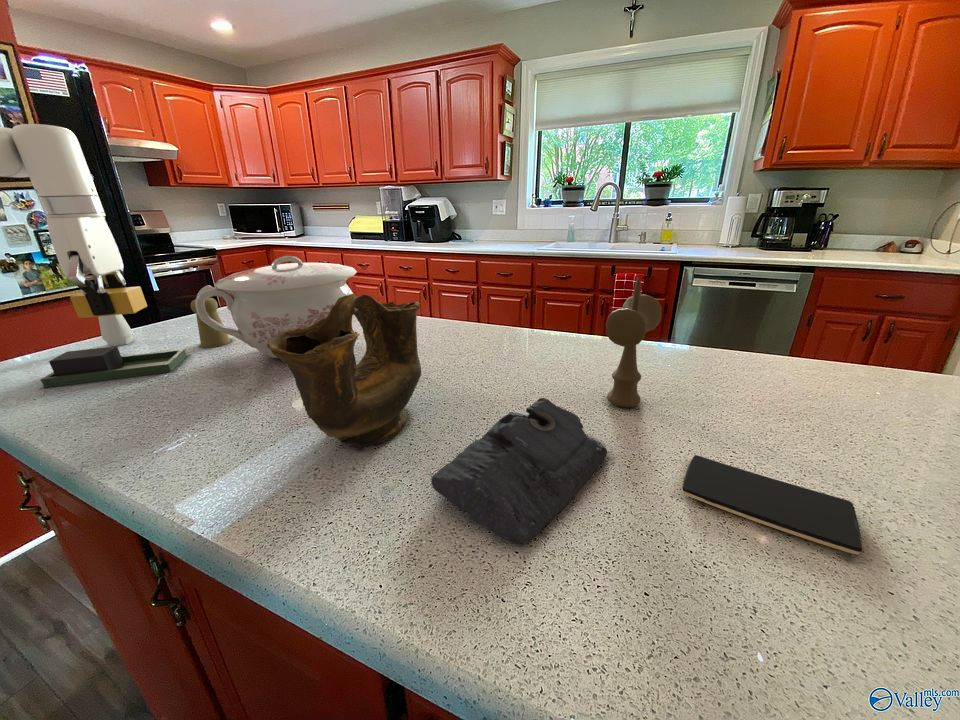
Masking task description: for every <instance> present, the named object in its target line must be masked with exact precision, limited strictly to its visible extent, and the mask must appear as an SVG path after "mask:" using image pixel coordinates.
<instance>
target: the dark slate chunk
mask: <svg viewBox="0 0 960 720" xmlns="http://www.w3.org/2000/svg"><path fill="white" fill-rule="evenodd" d="M525 412H526V413H527V414H528V415H527V414H523V413H519V412H514V411H510V412H509V413H507V414H505V415H504V416H502V417H501V418H500V419H499V420H497V422H495V423H494V424H493V425H492V427H490V428H489V430H488V431H487V432H486V433H485V434H484V435H483V436H482V437H481V438H479V439H475V440H474V441H473V442H471V443H470V444H469V445H468V446H466V447H465V448H464V450H463V451H461V452H460V453H458V454H457V455H456V457H454V459H453V460H451V461H450V462H449V463H446V464H445V465H444V466H443V467H441V468H440V469H438V471H437V472H436V473H435V474H433V475H432V477H431V485H432V488H433V490H434V491H435V492H437V493H438V494H439V495H441V496H443V498H445V499H446V500H448V501H449V502H450V503H451V504H452V506H453V507H457V508H458V509H459V510H461V511H463V512H464V513H467V514H468V515H469V516H470V517H471V518H472V519H473V520H474V521H475V522H476V523H477V524H478V525H480V526H482V527H485V528H486V529H487V530H489V531H491V532H493V533H495V535H497V536H498V537H500V538H502V539H507V540H508V541H511V542H512V541H514V542H520V543H521V544H522V545H526V544H527V543H529V542H530V541H531V539H532V538H534V537H536V536H537V535H538V534H539V533H540V532H541V531H542V530H544V528H545V526H546V525H549V524H550V523H551V521H552V520H553V519H554V518H555V517H556V516H557V515H558V513H560V512H561V511H563V510H564V509H565V508H566V506H567V504H569V502H571V500H572V499H574V498H575V497H576V496H575V495H576V494H577V493H578V491H580V490H581V488H582V487H583V486H584V485H585V484H586V482H587V481H589V480H590V478H591V476H592V475H593V474H594V472H595V471H597V470H598V469H599V467H600V466H601V465H602V462H603V461H604V460H605V458H606V457H607V454H608V450H607V448H606V447H605V446H603V445H601V441H598V440H596V439H594V438H590V437H589V436H587V434H586V432H585V431H584V430H583V428H584V425H583V424H582V422H581V418H580V417H579V416H578V415H577V414H575V413H574V412H572V411H570V410H568V409H566V408H563V407H561V406H558V405H556V404H555V403H553V402H552V401H551V400H550V399H548V398H546V397H539V398H538V399H537V400H536V401H535V402H534V403H532V404H530V405H529V407H527V408H526V409H525Z"/></svg>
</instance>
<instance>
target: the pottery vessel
mask: <svg viewBox="0 0 960 720" xmlns="http://www.w3.org/2000/svg"><path fill="white" fill-rule="evenodd" d="M420 305H421V303H420V302H418V301H414V302H403V303H400V304H396V303H395V302H394V301H390V302H387V303H386V302H379V301H378V300H376V299H375V298H374V297H372V296H371V295H369V294H367V293H362V294H361V295H358V296H356V295H355V293H353V294H350V295H347V296H343V297H340V298H339V299H338V300H337V301H336V303H335V305H334V306H333V307H332V308H331V310H330V313H329V315H328V316H327V317H326V318H323V319H321V320H320V321H318V322H317V323H315V324H313V325H311V326H309V327H307V328H298V329H295V330H289V331H285V332H282V333H280V334H278V336H276V337H277V338H275V337H273V338H269V339H268V340H267V341H268V343H267V347H268V348H270V350H271V352H272V353H273V354H274V355H275V356H276V357H278V358H277V359H279V360H281V362H283V364H284V365H286V366H287V368H288V369H289V370H290V372H291V374H292V375H293V378H294V381H295V385H296V387H297V390H298V392H299V396H300V398H301V401H302V407H303V408H304V410H305V412H306V415H307V416H308V419H311V420H312V422H314V424H315V425H316V426H317V427H318V429H319V430H320V431H321V432H322V433H323V434H325V435H326V436H327V437H329V438H336V439H337V440H338V442H341V443H342V444H345V445H349V444H351V445H352V446H355V445H356V446H359V447H367V446H371V445H374V444H375V445H376V444H380V443H383V442H384V441H387V440H389V439H390V438H392V437H393V436H395V435H396V434H398V433H399V432H400V431H401V430H402V428H404V427H405V425H406V424H407V423H408V413H407V411H406V406H407V405H408V404H409V402H410V400H411V398H412V396H413V394H414V392H415V390H416V387H417V385H418V383H419V381H420V378H421V375H422V365H421V362H420V357H419V351H418V333H417V332H418V331H417V322H418V321H417V319H418V311H419V309H420ZM353 314H354V315H353ZM352 316H354V318H356V320H357V322H358V323H359V325H360V327H361V329H362V334H363V336H364V341H365V345H366V347H365V353H364V355H363V357H362V358H360V361H359V362H358V363H357V360H356V355H355V351H354V350H355V348H354V347H355V345H356V343H357V340H358V337H359V336H360V333H358V332H357V331H356V330H354V328H353V323H352Z"/></svg>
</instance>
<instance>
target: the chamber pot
mask: <svg viewBox="0 0 960 720" xmlns="http://www.w3.org/2000/svg"><path fill="white" fill-rule="evenodd" d="M284 262H288V263H284ZM289 262H290V263H289ZM357 273H358V272H357V270H356V269H355V268H354V267H352V266H347V265H343V264H339V263H328V262H303V261H302V259H300V258H298V257H297V256H293V255H283V256H280V257H278V258H275V259H274V260H273V262H272V263H271V265H265V266H260V267H255V268H251V269H245V270H242V271H239V272H234V273H232V274H230V275H227V276H225V277H223V278H220V279H218V280H217V281H216V282H215V284H214V287H213V286H212V285H205V286H204V287H202V288H201V289H200V290H199V291H198V293H197V294H196V297H195V300H196V301H195V306H196V311H197V314H198V315H199V317H200V319H201V320H202V321H203V322H205V323H206V324H208V325H209V326H210V327H212V328H213V329H215V330H217V331H220V332H223V333H226V334H227V335H228V336H232V337H234V338H236V339H238V340H240V341H241V342H243V343H244V344H247V346H249V347H251V348H252V349H253V348H254V349H256V350H257V351H258V352H260V354H262V355H263V356H266V357H269V358H272V359H279V358H278V357H276V356H275V355H274V354H273V353H272V352H271V350H270V348H268V347H267V343H268V341H267V340H268V339H269V338H273V337H275V338H277V337H276V336H278V334H280V333H282V332H285V331H289V330H295V329H298V328H307V327H309V326H311V325H313V324H315V323H317V322H318V321H320V320H321V319H323V318H326V317H327V316H328V315H329V313H330V310H331V308H332V307H333V306H334V305H335V303H336V301H337V300H338V299H339V298H340V297H343V296H347V295H350V294H354V293H353V291H352V290H351V288H350V287H349V286H348V284H347V280H348V279H350V278H353V277H354V276H355V275H356V274H357ZM213 297H219V298H223V299H224V301H225V304H226V308H227V310H229V311H230V313H231V317H232V320H233V323H234V324H235V326H236V328H234V327H229V326H226V325H224V324H223V325H221V324H220V323H218V322H217V321H215V320H213V319H212V318H211V317H210V316H209V314H208V313H207V311H206V308H205V299H206V298H213ZM353 315H354V314H353ZM354 320H355V315H354V316H352V324H353V323H354Z"/></svg>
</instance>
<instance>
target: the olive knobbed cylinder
mask: <svg viewBox="0 0 960 720" xmlns="http://www.w3.org/2000/svg"><path fill="white" fill-rule="evenodd" d="M195 301H196V299H193V300H191V303H190V309H191V311H192V312H193V313H194V314H195V315H196V322H197V329H198V335H199V342H200V347H201V348H204V349H205V348H207V349H208V348H209V349H210V348H216V347H221V346H224V345H225V346H226V345H227V344H229V343H230V342H231V339H230V337H229V334H226V333H223V332H220V331H217V330H215V329H213V328H212V327H210V326H209V325H208V324H206V323H205V322H203V321H202V320H201V319H200V317H199V315H198V314H197V311H196V306H195ZM205 308H206V311H207V313H208V314H209V316H210V317H211V318H212V319H213V320H215V321H217V322H218V323H220V324H221V325H223V326H224V324H223V321H222V320H221V317H220V315H219V313H218V309H219V304H218V302H217V300H216V299H215V298H213V297H208V298H206V299H205Z"/></svg>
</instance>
